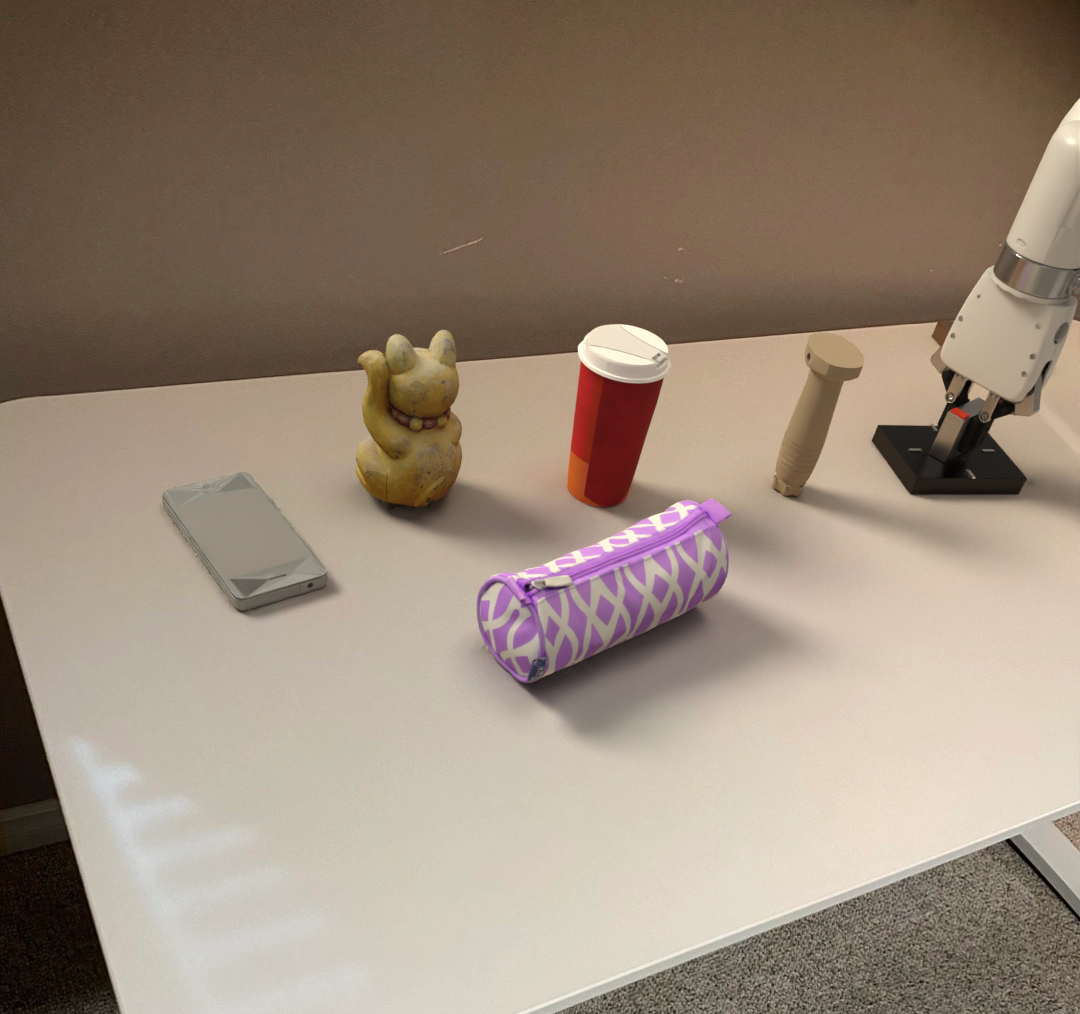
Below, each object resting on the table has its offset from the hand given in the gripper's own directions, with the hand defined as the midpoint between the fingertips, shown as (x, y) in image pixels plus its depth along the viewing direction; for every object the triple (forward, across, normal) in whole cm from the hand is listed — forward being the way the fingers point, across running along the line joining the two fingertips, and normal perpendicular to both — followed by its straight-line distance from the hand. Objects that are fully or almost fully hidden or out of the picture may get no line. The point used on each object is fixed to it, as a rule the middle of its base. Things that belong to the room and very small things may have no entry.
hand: (956, 441), depth 114 cm
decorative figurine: (+3, +24, +53) cm, 58 cm away
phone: (+3, +26, +69) cm, 74 cm away
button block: (+3, +13, -28) cm, 31 cm away
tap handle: (+1, 0, 0) cm, 1 cm away
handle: (+3, +6, +19) cm, 21 cm away
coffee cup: (+3, +16, +37) cm, 40 cm away
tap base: (+3, 0, 0) cm, 3 cm away
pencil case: (+3, +2, +51) cm, 51 cm away
